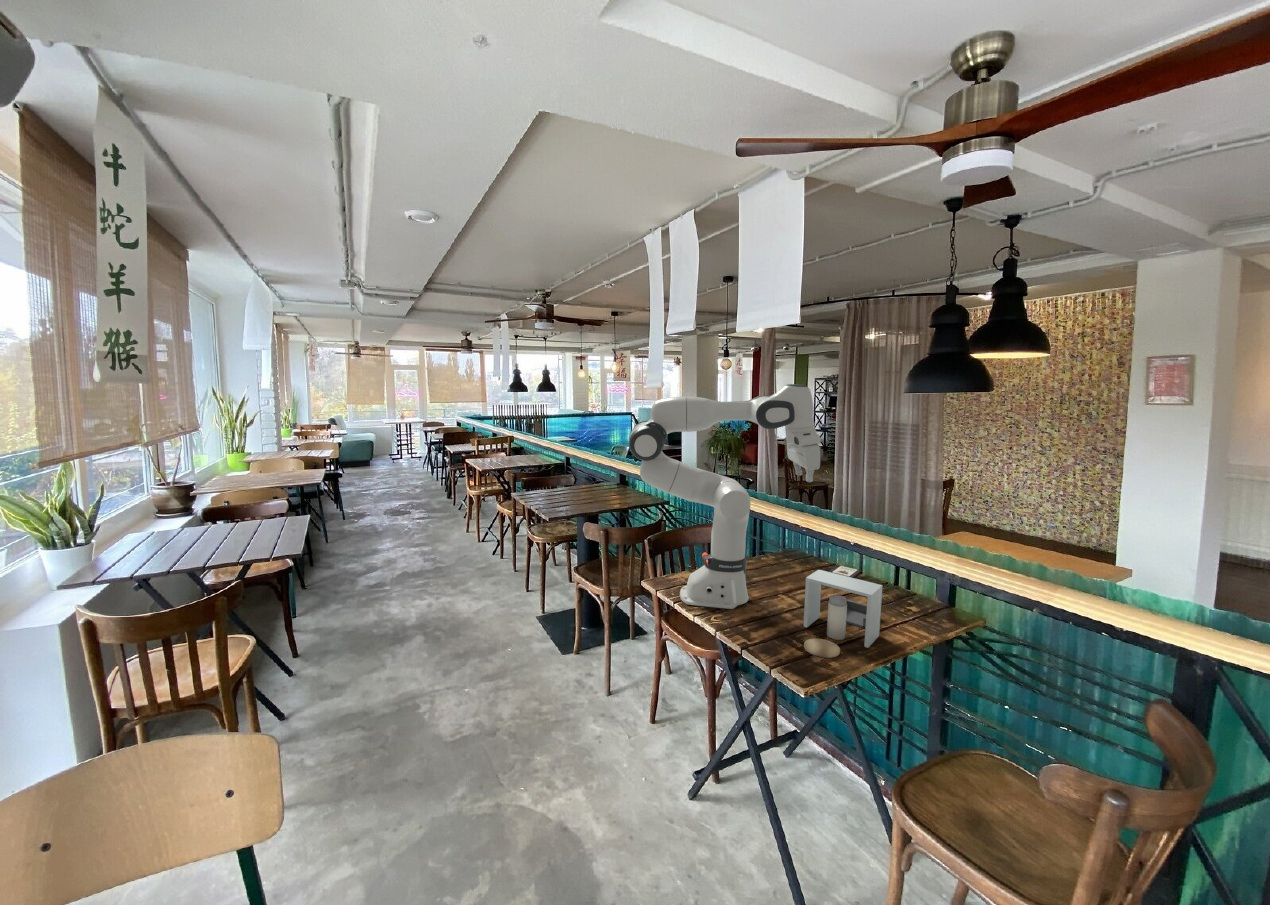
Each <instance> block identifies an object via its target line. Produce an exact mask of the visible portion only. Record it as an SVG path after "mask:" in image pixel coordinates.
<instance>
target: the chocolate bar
mask: <svg viewBox="0 0 1270 905" xmlns="http://www.w3.org/2000/svg"><path fill="white" fill-rule="evenodd" d="M836 566H839V567H835V566H833V567H832V568H831V569H829V570H828V571H827V572H831V573H835V574H839V575H843V576H847V577H851V578H856V577H857V576H858V575H860V574H861V573H862V570H860V569H856V568H851V567H847V566H843V565H838V564H837V565H836Z"/></svg>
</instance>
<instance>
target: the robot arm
mask: <svg viewBox="0 0 1270 905" xmlns="http://www.w3.org/2000/svg"><path fill="white" fill-rule="evenodd" d="M813 417H814V402H813V396H812V392H811V389H810V388H809V387H808V386H807V385H805V384H799V383H798V384H797V383H795V384H794V383H789V384H788V383H787V384H785V385H784V386H783V387H782V388H781V389H779V390H778V391H777V392H775V393H773V394H771V395H768V394H761V395H758V396H756V397H753V398H751V399H749V400H743V401H742V400H741V401H740V400H739V401H719V400H714V399H710V398H705V397H699V396H674V397H673V396H672V397H668V398H667V397H666V398H661V399H658V400H656V401H655V402H654V403H653V405H652V406H651V409H650V416H649V419H648V420H642V421H640V422H638V423H637V424H636V425H634V427H633V428H632V430H631V431H630V434H629V436H628V447H629V451H630V453H631V454H632V455H633V457H635V458H636V459H638V460H640V461H641V464H640V466H639V467H640V468H639V476H640V478H641V480H642V481H643V482H645V483H647V485H649V486H651V487H653V488H655V489H656V490H659V491H661V492H664V493H666V494H669V495H672V496H674V497H676V498H680V499H683V500H685V501H688V502H689V503H692V502H693V503H697V504H702V505H705V506H709V507H712V508H713V520H712V529H711V531H710V532H711V538H710V541H711V542H710V553H709V554H708V553H707V552H703V553H702V554H701V555H702V556H701V557H702V559H703V560H704V565H702V566H700V568H698V569H696V570H695V571H692V573H690V575H689V576H688V579H687V583H686V585H683V586H682V587H681V588H680V591H679V597H680V600H681V601H682V602H683V603H684V604H686V605H691V606H698V607H700V606H701V607H707V608H718V609H727V610H733V609H735V608H737V607H738V606H741V605H743V604H746V603H747V602H748V601H749V599H750V597H749V595H748V594H749V593H748V590H747V589H748V588H747V583H746V574H747V573H746V572H747V563H748V562H747V556H746V542H747V541H746V539H747V538H746V536H747V529H748V523H749V518H750V510H751V498H750V494H749V493H748V491H747V489H745V488H744V487H743V486H742V484H740V482H738V481H737V480H735V479H733V478H730V477H728V476H725V475H722V474H718V473H715V472H711V471H709V470H705V469H702V468H698V467H696V466H693V465H691V464H688V463H686V462H683V461H679V460H678V459H675V458H672V457H669V456H668V455H666V454H665V453H664V452H663V449H664V447H665V443H666V439H667V437H668V434H671V433H675V432H676V433H677V432H678V433H680V432H681V433H682V432H683V433H686V432H687V433H690V432H700V431H705V430H708V429H710V428H711V427H713V426H715V425H716V424H718V423H721V422H729V421H731V422H732V421H748V422H752V423H753V424H756V425H758V426H759V427H761V428H763V429H764V430H765V429H766V430H776V429H779V428H783V427H784V429H785V438H786V439H785V441H786V450H787V451H786V452H787V453H786V454H787V458H788V460H790V461H791V462H792V463H793V466H794V470H795V475H797V476H802V475H803V468H804V469H805V472H806V473H805V481H806V482H807V483H812V482H814V473H815V471H816V470H819V469H820V467H821V448H820V445H819V444H821V442H822V441H821V440H822V439H821V436H820V435H819V433H818V432H817V429H816V424H815V421H814V418H813Z"/></svg>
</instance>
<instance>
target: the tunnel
mask: <svg viewBox="0 0 1270 905" xmlns="http://www.w3.org/2000/svg"><path fill="white" fill-rule="evenodd" d="M822 586H825V587H829V588H834V589H836V590H840V591H845V592H849V593H852V594H856V595H860V596H864V597H866V598H867V601H866V605H867V614H866V629H865V628H864V629H865V631H864V632H865V633H864V648H870V647H871V645H873V643H874V642H875V641H876V640H877V639H878V638H879V637H880V627H881V625H880V624H881V614H882V611H881V610H882V599H883V598H882V596H883V584H879V583H875V582H871V581H867V580H863V579H858V578H856V577H854V578H851V577H847V576H843V575H839V574H835V573H831V572H828V571H826V570H823V569H817V570H816V571H814V572H812V573H811V574H810V575H807V576H806V577H805V588H804V589H805V591H804V592H805V593H804V607H803V608H804V611H803V628H809V627H810V626H811V625H812V624H813V623H815V621H817V620H818V619H820V614H821V598H822V597H821V595H822Z"/></svg>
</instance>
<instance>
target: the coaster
mask: <svg viewBox="0 0 1270 905" xmlns="http://www.w3.org/2000/svg"><path fill="white" fill-rule="evenodd" d="M803 649H804V650H805V651H806V652H808V653H809V654H810V655H812V656H814V657H819V658H823V659H832V658H836V657H839V655H841V654H840V653H841V648H840V647H839V645H838V644H836V643H834V642H833V641H831V640H828V639H823V638H809V639H806V640H804V644H803Z"/></svg>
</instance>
